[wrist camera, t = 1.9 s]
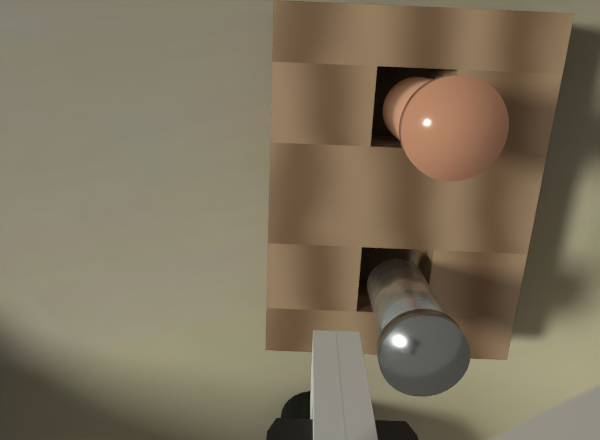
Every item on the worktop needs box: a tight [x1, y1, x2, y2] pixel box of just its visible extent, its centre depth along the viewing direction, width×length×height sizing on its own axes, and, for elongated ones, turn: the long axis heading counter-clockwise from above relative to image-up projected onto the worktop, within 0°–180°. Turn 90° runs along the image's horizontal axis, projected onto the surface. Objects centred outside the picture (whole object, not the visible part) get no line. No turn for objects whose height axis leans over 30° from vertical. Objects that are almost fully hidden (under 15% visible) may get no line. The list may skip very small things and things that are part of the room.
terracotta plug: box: [383, 75, 509, 182], centre depth 27 cm, size 5×5×9 cm
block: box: [266, 0, 574, 360], centre depth 36 cm, size 18×24×5 cm
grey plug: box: [367, 258, 470, 396], centre depth 31 cm, size 5×5×9 cm
